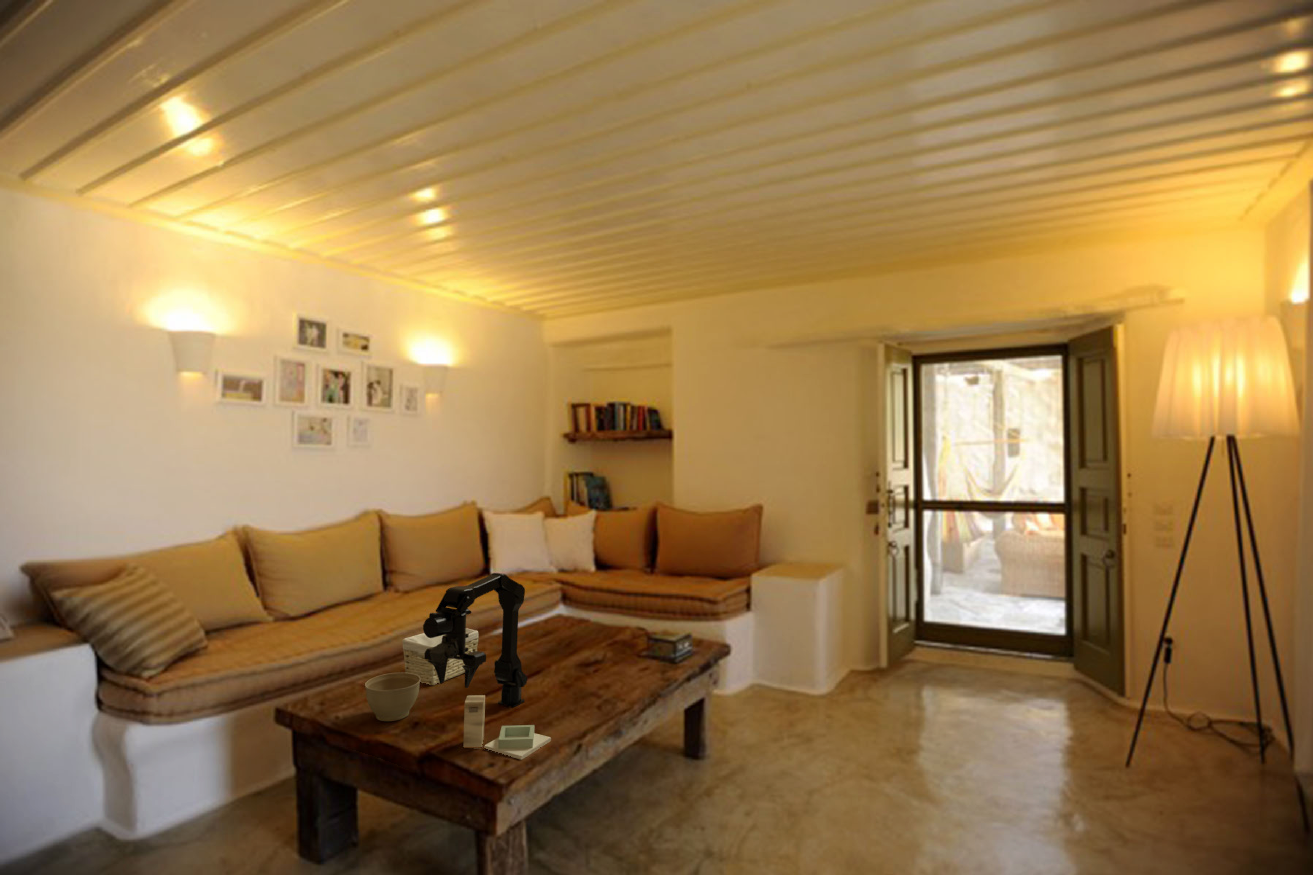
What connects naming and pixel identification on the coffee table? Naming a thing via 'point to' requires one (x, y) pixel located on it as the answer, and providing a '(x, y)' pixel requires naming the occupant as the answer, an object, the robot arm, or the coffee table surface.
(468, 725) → the birch cabinet block
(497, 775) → the coffee table surface
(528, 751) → the board
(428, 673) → the storage basket
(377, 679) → the planter bowl
